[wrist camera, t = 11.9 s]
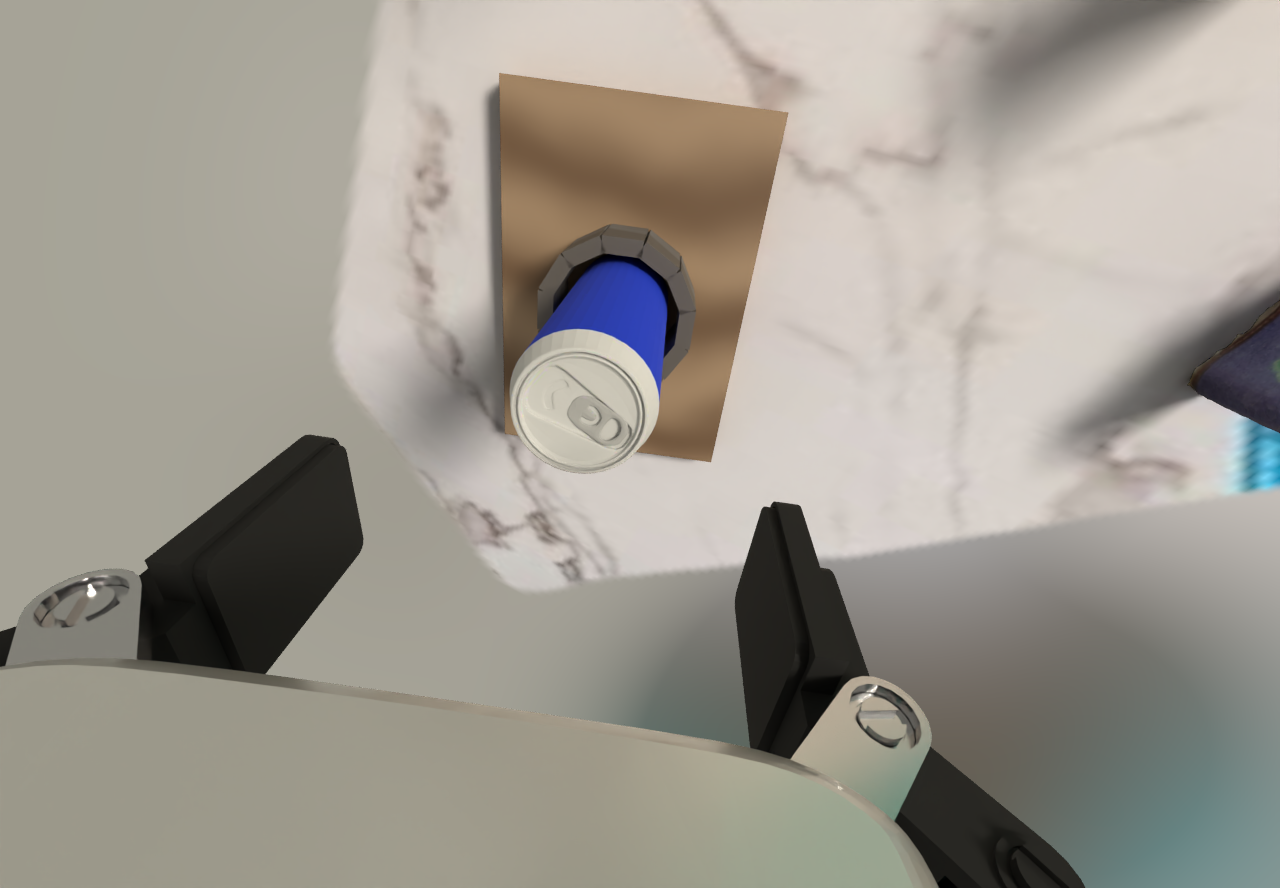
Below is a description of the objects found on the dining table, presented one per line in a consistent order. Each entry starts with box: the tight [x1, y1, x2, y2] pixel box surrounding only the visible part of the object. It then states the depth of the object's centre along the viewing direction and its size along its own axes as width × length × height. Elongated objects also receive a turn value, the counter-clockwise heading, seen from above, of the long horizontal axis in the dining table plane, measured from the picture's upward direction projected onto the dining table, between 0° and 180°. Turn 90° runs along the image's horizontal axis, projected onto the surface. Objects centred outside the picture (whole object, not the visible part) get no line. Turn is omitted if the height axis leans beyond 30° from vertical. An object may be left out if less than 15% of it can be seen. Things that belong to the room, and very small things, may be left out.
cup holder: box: [499, 73, 788, 462], centre depth 29 cm, size 20×14×6 cm
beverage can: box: [510, 254, 668, 474], centre depth 23 cm, size 5×5×15 cm
